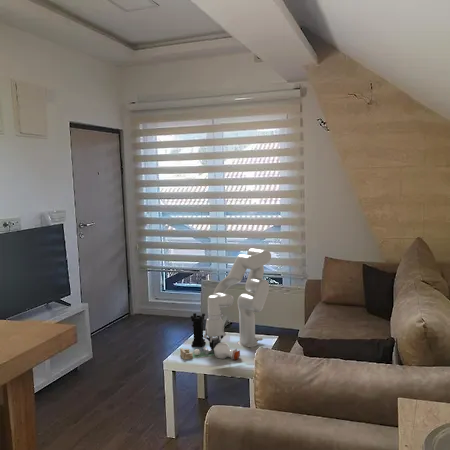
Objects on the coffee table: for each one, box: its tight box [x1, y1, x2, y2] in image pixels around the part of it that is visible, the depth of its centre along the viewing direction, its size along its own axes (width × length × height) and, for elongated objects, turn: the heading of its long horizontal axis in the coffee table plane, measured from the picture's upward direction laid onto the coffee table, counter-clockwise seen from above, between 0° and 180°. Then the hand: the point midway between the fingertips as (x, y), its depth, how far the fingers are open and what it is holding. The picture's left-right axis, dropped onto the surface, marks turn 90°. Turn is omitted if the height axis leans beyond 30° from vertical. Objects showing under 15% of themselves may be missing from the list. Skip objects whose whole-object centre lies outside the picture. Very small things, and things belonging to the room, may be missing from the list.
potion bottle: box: [214, 341, 241, 361], centre depth 267 cm, size 9×10×15 cm
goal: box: [179, 347, 194, 361], centre depth 269 cm, size 5×8×4 cm, turn 20°
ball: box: [193, 348, 201, 355], centre depth 271 cm, size 4×4×4 cm
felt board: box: [179, 351, 215, 361], centre depth 272 cm, size 24×8×1 cm, turn 110°
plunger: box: [202, 336, 219, 355], centre depth 274 cm, size 8×5×8 cm, turn 110°
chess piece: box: [190, 312, 207, 348], centre depth 288 cm, size 8×8×20 cm
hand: (215, 347), depth 275 cm, fingers closed on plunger, 3 cm apart
